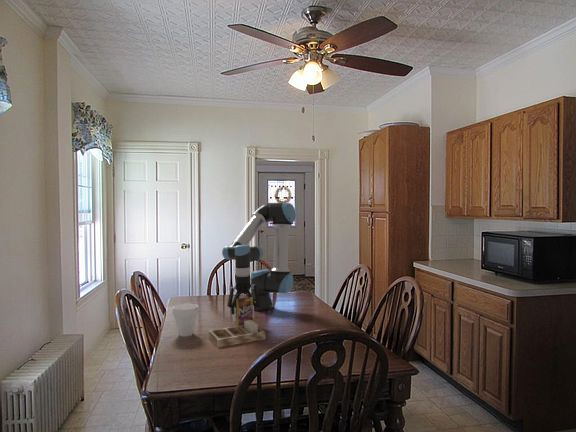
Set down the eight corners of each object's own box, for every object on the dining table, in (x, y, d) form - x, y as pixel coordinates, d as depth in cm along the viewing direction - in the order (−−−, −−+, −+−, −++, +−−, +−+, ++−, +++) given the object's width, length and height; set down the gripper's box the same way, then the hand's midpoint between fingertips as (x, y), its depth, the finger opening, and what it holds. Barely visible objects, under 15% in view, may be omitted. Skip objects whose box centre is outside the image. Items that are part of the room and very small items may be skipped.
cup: (185, 340, 181) (184, 311, 181) (167, 335, 188) (167, 307, 187) (204, 332, 192) (203, 305, 191) (186, 328, 198) (186, 302, 198)
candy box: (237, 329, 194) (237, 299, 194) (233, 327, 198) (233, 297, 197) (253, 326, 199) (252, 296, 199) (249, 324, 203) (248, 295, 202)
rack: (253, 331, 193) (252, 323, 193) (266, 341, 179) (266, 332, 179) (207, 339, 183) (207, 330, 182) (218, 350, 168) (218, 340, 168)
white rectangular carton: (251, 332, 189) (251, 319, 188) (257, 336, 181) (257, 324, 181) (244, 333, 187) (244, 320, 187) (250, 338, 180) (250, 325, 180)
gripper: (259, 272, 206) (260, 314, 207) (219, 276, 196) (220, 320, 197) (265, 274, 199) (265, 317, 200) (224, 278, 189) (225, 324, 190)
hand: (243, 318), depth 198 cm, fingers closed on candy box, 9 cm apart
